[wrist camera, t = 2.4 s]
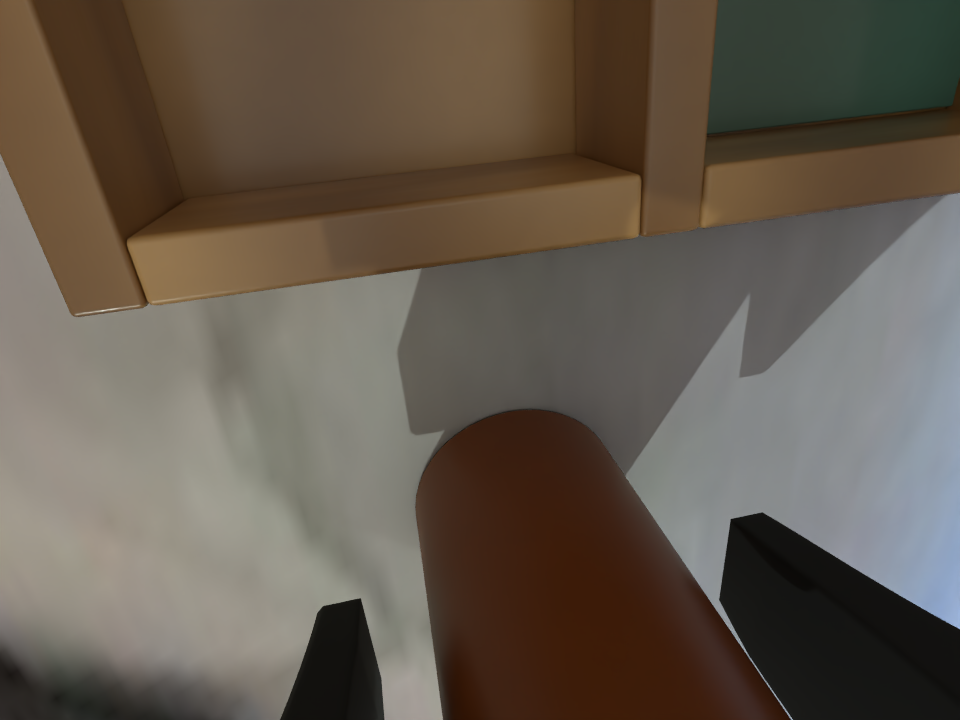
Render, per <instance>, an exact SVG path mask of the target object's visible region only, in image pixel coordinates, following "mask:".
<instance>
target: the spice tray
mask: <svg viewBox="0 0 960 720" xmlns="http://www.w3.org/2000/svg"><path fill="white" fill-rule="evenodd" d="M0 154H1V156H2V158H3V161H4V163H5V165H6V167H7V170H8V172H9V174H10V177H11V179H12V181H13V183H14V186H15V188H16V190H17V192H18V195H19V197H20V199H21V202H22V204H23V206H24V208H25V211H26V213H27V215H28V218H29V220H30V222H31V224H32V227H33V229H34V231H35V233H36V236H37V238H38V240H39V243H40V245H41V247H42V249H43V252H44V254H45V256H46V258H47V261H48V263H49V265H50V268H51V270H52V272H53V274H54V277H55V279H56V281H57V284H58V286H59V288H60V290H61V293H62V295H63V297H64V299H65V302H66V304H67V306H68V309H69V311H70V313H71V314H72V315H73V316H75V317H82V316H89V315H96V314H103V313H110V312H118V311H125V310H132V309H139V308H143V307H145V306H147V305H148V304H149V303H150V304H151V305H163V304H170V303H178V302H185V301H192V300H199V299H206V298H213V297H220V296H228V295H235V294H242V293H249V292H256V291H263V290H270V289H277V288H285V287H292V286H299V285H306V284H313V283H320V282H327V281H334V280H342V279H349V278H356V277H363V276H370V275H377V274H384V273H391V272H399V271H406V270H413V269H420V268H427V267H434V266H441V265H448V264H456V263H463V262H470V261H477V260H484V259H491V258H498V257H505V256H513V255H520V254H527V253H534V252H541V251H548V250H555V249H562V248H570V247H577V246H584V245H591V244H598V243H605V242H612V241H619V240H627V239H633V238H635V237H637V236H638V235H641V236H643V237H649V236H656V235H663V234H671V233H678V232H685V231H692V230H695V229H697V228H698V227H700V228H703V229H705V228H712V227H719V226H726V225H733V224H740V223H748V222H755V221H762V220H769V219H776V218H783V217H790V216H797V215H805V214H812V213H819V212H826V211H833V210H840V209H847V208H854V207H862V206H869V205H876V204H883V203H890V202H897V201H904V200H911V199H919V198H926V197H933V196H940V195H947V194H954V193H960V0H0Z"/></svg>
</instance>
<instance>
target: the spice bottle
mask: <svg viewBox="0 0 960 720" xmlns="http://www.w3.org/2000/svg"><path fill="white" fill-rule="evenodd" d="M415 508H416V518H417V526H418V533H419V541H420V549H421V556H422V564H423V571H424V579H425V586H426V594H427V601H428V609H429V616H430V624H431V632H432V639H433V647H434V654H435V662H436V669H437V677H438V684H439V692H440V699H441V707H442V715H443V720H791V719H790V718H789V716H788V715H787V713H786V712H785V710H784V709H783V707H782V706H781V705H780V703H779V702H778V700H777V699H776V697H775V696H774V694H773V693H772V691H771V690H770V688H769V687H768V685H767V684H766V683H765V681H764V680H763V678H762V677H761V675H760V674H759V672H758V671H757V669H756V668H755V666H754V665H753V663H752V662H751V661H750V659H749V658H748V656H747V655H746V653H745V652H744V650H743V649H742V647H741V646H740V644H739V643H738V641H737V640H736V639H735V637H734V636H733V634H732V633H731V631H730V630H729V628H728V627H727V625H726V624H725V622H724V621H723V619H722V618H721V616H720V615H719V614H718V612H717V611H716V609H715V608H714V606H713V605H712V603H711V602H710V600H709V599H708V597H707V596H706V594H705V593H704V592H703V590H702V589H701V587H700V586H699V584H698V583H697V581H696V580H695V578H694V577H693V575H692V574H691V572H690V571H689V570H688V568H687V567H686V565H685V564H684V562H683V561H682V559H681V558H680V556H679V555H678V553H677V552H676V550H675V549H674V548H673V546H672V545H671V543H670V542H669V540H668V539H667V537H666V536H665V534H664V533H663V531H662V530H661V528H660V527H659V526H658V524H657V523H656V521H655V520H654V518H653V517H652V515H651V514H650V512H649V511H648V509H647V508H646V506H645V505H644V503H643V502H642V501H641V499H640V498H639V496H638V495H637V493H636V492H635V490H634V489H633V487H632V486H631V484H630V483H629V481H628V480H627V479H626V477H625V476H624V474H623V473H622V471H621V470H620V468H619V467H618V465H617V464H616V462H615V461H614V459H613V458H612V457H611V455H610V454H609V452H608V451H607V449H606V448H605V446H604V445H603V443H602V442H601V440H600V439H599V438H598V437H597V436H596V435H595V434H594V432H592V431H591V430H590V429H589V428H587V427H586V426H585V425H583V424H582V423H580V422H578V421H577V420H575V419H572V418H570V417H568V416H565V415H562V414H558V413H554V412H551V411H542V410H519V411H510V412H506V413H502V414H498V415H494V416H491V417H489V418H486V419H483V420H481V421H479V422H477V423H475V424H473V425H471V426H469V427H467V428H466V429H464V430H463V431H461V432H459V433H458V434H457V435H455V436H454V437H453V438H452V439H450V440H449V441H448V442H447V443H446V444H445V445H444V446H443V447H442V448H441V449H440V450H439V451H438V452H437V453H436V455H435V456H434V457H433V459H432V460H431V461H430V463H429V465H428V466H427V468H426V470H425V472H424V473H423V476H422V478H421V481H420V483H419V486H418V491H417V495H416V506H415Z"/></svg>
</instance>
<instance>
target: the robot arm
mask: <svg viewBox="0 0 960 720" xmlns="http://www.w3.org/2000/svg"><path fill="white" fill-rule="evenodd" d="M719 600H720V602H721V604H722V606H723V608H724V610H725V612H726V614H727V616H728V618H729V619H730V621H731V623H732V625H733V627H734V629H735V631H736V633H737V635H738V636H739V638H740V640H741V642H742V643H743V645H744V647H745V649H746V651H747V652H748V654H749V656H750V658H751V659H752V660H753V662H754V663H755V665H756V666H757V668H758V669H759V671H760V672H761V674H762V675H763V677H764V678H765V680H766V681H767V683H768V684H769V685H770V687H771V688H772V690H773V691H774V693H775V694H776V696H777V697H778V699H779V700H780V701H781V703H782V704H783V706H784V707H785V709H786V710H787V712H788V713H789V714H790V716H791V717H792V719H793V720H960V629H958V628H956V627H954V626H952V625H951V624H949V623H947V622H945V621H943V620H941V619H940V618H938V617H936V616H934V615H933V614H931V613H929V612H927V611H926V610H924V609H922V608H920V607H918V606H917V605H915V604H913V603H911V602H910V601H908V600H906V599H905V598H903V597H901V596H899V595H898V594H896V593H894V592H893V591H891V590H889V589H888V588H886V587H884V586H883V585H881V584H879V583H878V582H876V581H874V580H872V579H871V578H869V577H867V576H866V575H864V574H863V573H861V572H859V571H858V570H856V569H854V568H853V567H851V566H849V565H848V564H846V563H844V562H843V561H841V560H840V559H838V558H836V557H835V556H833V555H831V554H830V553H828V552H827V551H825V550H823V549H822V548H820V547H818V546H817V545H815V544H814V543H812V542H810V541H809V540H807V539H806V538H804V537H802V536H801V535H799V534H797V533H796V532H794V531H792V530H791V529H789V528H788V527H786V526H784V525H783V524H781V523H779V522H778V521H776V520H774V519H772V518H771V517H769V516H767V515H766V514H764V513H757V514H753V515H748V516H743V517H739V518H734V519H731V522H730V529H729V536H728V543H727V550H726V557H725V563H724V570H723V577H722V584H721V591H720V598H719ZM280 720H384V709H383V696H382V682H381V676H380V672H379V668H378V664H377V660H376V656H375V652H374V648H373V645H372V641H371V637H370V633H369V629H368V625H367V621H366V617H365V613H364V609H363V605H362V602H361V598H360V599H355V600H350V601H346V602H341V603H336V604H332V605H327V606H323V607H322V608H321V609H320V611H319V612H318V613H317V617H316V620H315V624H314V627H313V631H312V634H311V637H310V640H309V643H308V646H307V649H306V652H305V655H304V658H303V661H302V664H301V667H300V670H299V672H298V675H297V678H296V680H295V683H294V686H293V689H292V691H291V694H290V697H289V699H288V702H287V704H286V707H285V709H284V712H283V714H282V717H281V719H280Z"/></svg>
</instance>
